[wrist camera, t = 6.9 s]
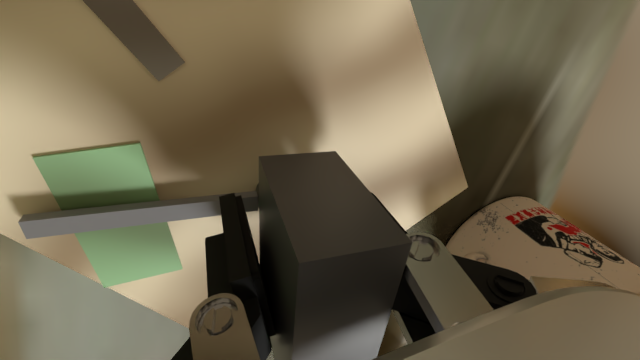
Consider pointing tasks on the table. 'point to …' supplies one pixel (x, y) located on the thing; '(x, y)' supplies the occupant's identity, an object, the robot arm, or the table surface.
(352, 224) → the sledge mallet
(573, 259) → the teacup with lid
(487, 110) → the table surface
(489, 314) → the robot arm
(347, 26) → the board
